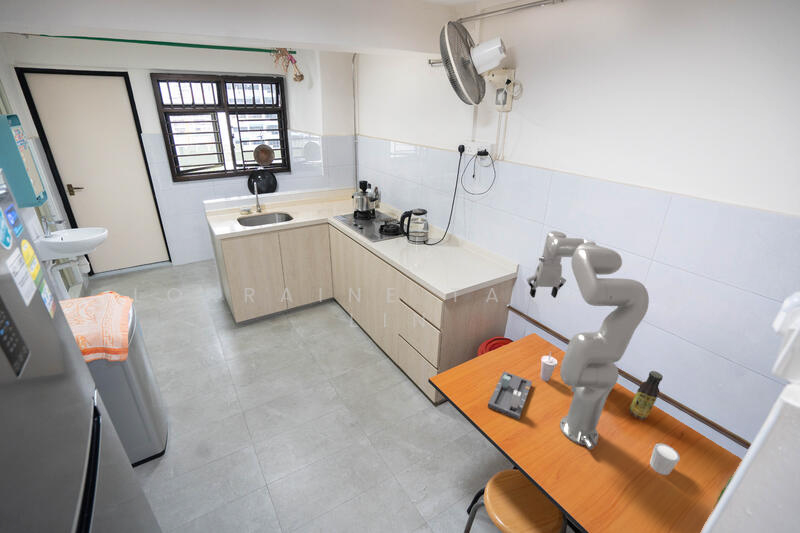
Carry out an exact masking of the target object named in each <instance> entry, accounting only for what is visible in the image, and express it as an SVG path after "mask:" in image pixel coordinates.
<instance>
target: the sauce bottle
mask: <svg viewBox="0 0 800 533" xmlns="http://www.w3.org/2000/svg"><path fill="white" fill-rule="evenodd" d="M662 380H663V375H662V374H661V373H660V372H658V371H655V370H651V371H649V374H648V377H647V379H646V380H645V381H643V382H642V383H641V384H640V385H639V388H638V389H637V391H636V393H635V396H634V397H633V399H632V401H631V403H630V406H629V410H628V412H629V414H630V415H631V416H633V417H634V418H635V419H638V420H643V421H644V420H646V419H647V417H648V416H649V415H650V413H651V411H652V410H653V407H654V405H655V403H656V401H657V399H658V396H659V394H660V388H659V386H660V383H661V382H662Z"/></svg>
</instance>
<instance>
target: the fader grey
mask: <svg viewBox="0 0 800 533" xmlns="http://www.w3.org/2000/svg"><path fill="white" fill-rule="evenodd" d="M520 397H521V392H519V391H516V390H514V392H513V396H512V400H511V405H510V406H512V408H511V409H513V410H515V409H516V408H518V405H519V401H520Z"/></svg>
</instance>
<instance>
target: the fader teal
mask: <svg viewBox="0 0 800 533" xmlns="http://www.w3.org/2000/svg"><path fill="white" fill-rule="evenodd" d="M510 378H511V377H509V376H507V375H504V377H503V380H502V385H501V386H503V388H502V389H504V390H506V388H508V386H509V383H510Z"/></svg>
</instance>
